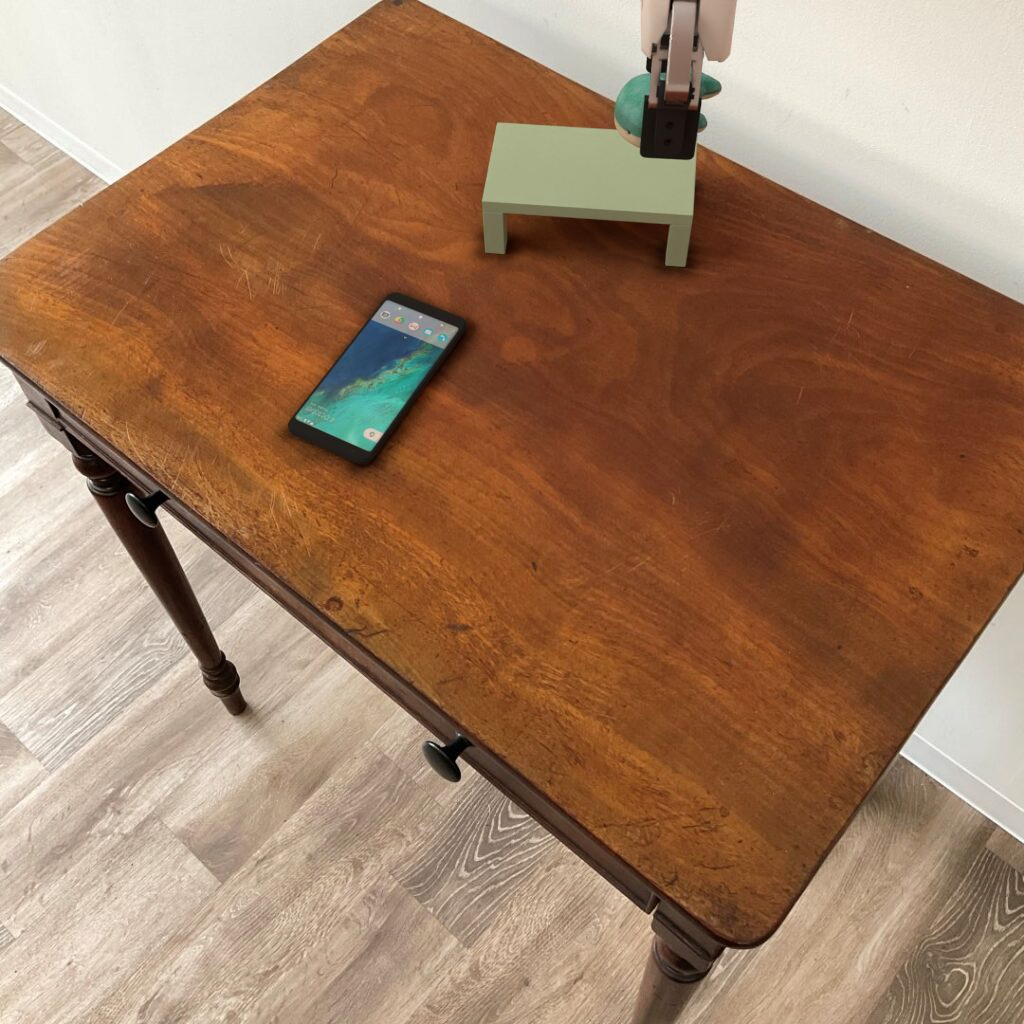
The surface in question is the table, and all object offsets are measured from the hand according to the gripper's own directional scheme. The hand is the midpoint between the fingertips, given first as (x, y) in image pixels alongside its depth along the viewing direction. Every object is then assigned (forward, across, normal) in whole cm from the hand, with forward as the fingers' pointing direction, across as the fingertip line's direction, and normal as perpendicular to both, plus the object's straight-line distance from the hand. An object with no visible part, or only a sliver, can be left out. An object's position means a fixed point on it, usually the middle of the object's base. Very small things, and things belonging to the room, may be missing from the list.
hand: (669, 110), depth 67 cm
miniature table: (+20, +11, +5) cm, 23 cm away
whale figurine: (+1, 0, 0) cm, 1 cm away
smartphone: (+20, -7, +19) cm, 29 cm away
